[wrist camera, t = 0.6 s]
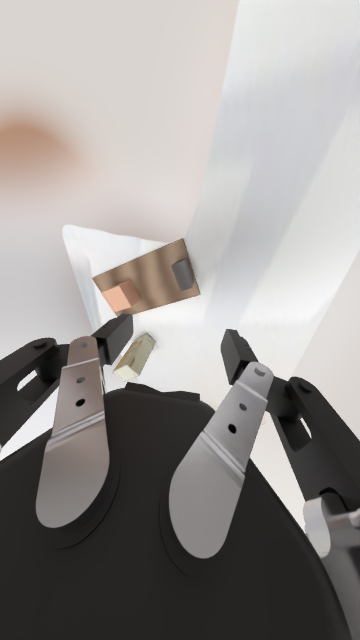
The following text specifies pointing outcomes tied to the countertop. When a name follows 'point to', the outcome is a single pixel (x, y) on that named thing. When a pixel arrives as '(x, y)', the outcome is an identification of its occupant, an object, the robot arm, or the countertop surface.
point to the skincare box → (135, 358)
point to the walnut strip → (155, 278)
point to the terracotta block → (121, 296)
